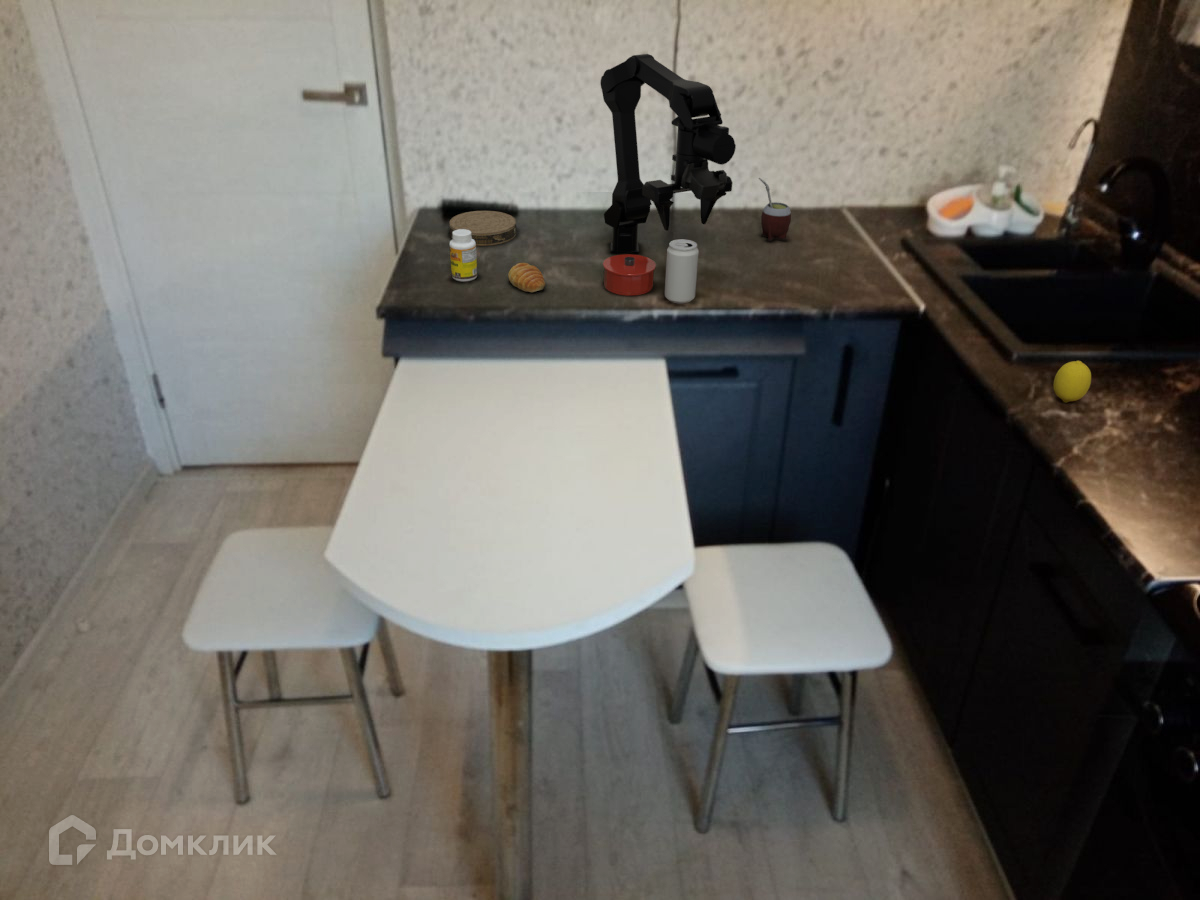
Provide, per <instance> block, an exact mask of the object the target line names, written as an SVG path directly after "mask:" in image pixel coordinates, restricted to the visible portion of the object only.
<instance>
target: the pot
mask: <svg viewBox="0 0 1200 900" xmlns="http://www.w3.org/2000/svg"><path fill="white" fill-rule="evenodd" d="M603 269H604V271H603V274H604V275H603V284H604V285H603V286H604V288H605V289H606V290H607V291H608V292H610V293H613V294H616V295H619V296H640V295H645V294H647V293H649V292H650V291H652V289H653V288H654V276H655V270H654V271H653V272H651V273H649V274H645V275H640V276H622V275H617V274H613V273H611V272H608V271H607V270H605V268H604V267H603Z"/></svg>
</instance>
